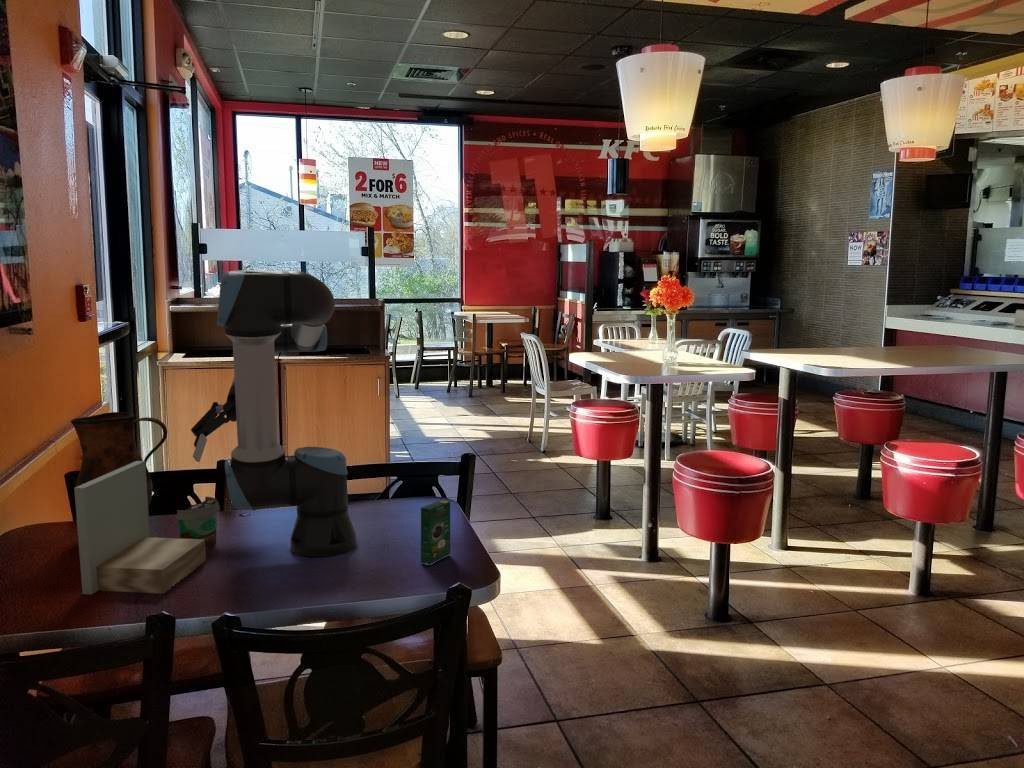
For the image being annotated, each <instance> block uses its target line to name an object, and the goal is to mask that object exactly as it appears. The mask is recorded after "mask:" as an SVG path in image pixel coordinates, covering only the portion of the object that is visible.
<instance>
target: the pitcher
mask: <svg viewBox="0 0 1024 768" xmlns="http://www.w3.org/2000/svg"><path fill="white" fill-rule="evenodd" d="M134 417H135V414H134V413H132V412H127V411H113V412H112V411H109V412H104V413H100V414H95V415H89V416H84V417H79V418H73V419H71V420H70V423H71V424H72V426H73V428H74V430H75V432H76V435H77V438H78V441H79V444H80V447H81V448H80V449H81V453H82V459H81V467H80V470H79V473H78V476H77V478H76V485H75V487H77V486H80V485H82V484H84V483H87V482H89V481H91V480H94V479H96V478H98V477H101V476H103V475H105V474H108V473H110V472H112V471H114V470H117V469H119V468H121V467H124V466H126V465H128V464H131V463H133V462H135V461H145V467H146V482H147V497H148V507H150V504H151V501H152V499H153V485H154V484H153V481H152V478H151V474H150V472H149V469H148V467H147V463H148V462H147V461H148V460H149V459H150V457H151V456H152V455H153V454H154V453H155V452H156V451H157V450H159V448H160V447H161V446H162V445H163V444H164V443H165V441H166V439H167V438H168V429H167V426H166V424H165V423H164V422H162V420H160V419H158V418H154V417H149V416H145V417H139V418H135V419H134ZM137 422H152V423H155V424H157V425H159V426H160V428H161V429H162V432H163V434H162V438H161V440H160V441H159V442H158V444H156V445H155V446H154V447H153V448H152V449H151V450H150V451H149V452H148V453H147V454H146V456H145V458H144V460H143V459H142V456H141V455H140V452H139V450H138V448H137V444H136V438H135V430H134V428H135V423H137Z"/></svg>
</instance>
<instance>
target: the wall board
mask: <svg viewBox="0 0 1024 768" xmlns="http://www.w3.org/2000/svg"><path fill="white" fill-rule="evenodd" d="M73 489H74V501H75V502H74V503H75V512H76V513H75V514H76V515H75V516H76V527H77V528H76V529H77V539H78V553H79V563H80V565H79V568H80V578H81V579H80V580H81V592H82V595H94V594H95V593H96V592H98V583H97V569H96V567H97V566H99V565H100V564H102V563H104V562H105V561H107V560H109V559H110V558H112V557H113V556H115V555H117V554H118V553H120V552H122V551H123V550H125V549H127V548H128V547H130V546H131V545H133V544H135V543H136V542H138V541H140V540H141V539H143V538H144V537H151V533H150V531H151V530H150V515H149V506H148V497H147V482H146V467H145V461H144V460H143V461H135V462H133V463H131V464H128V465H126V466H124V467H121V468H119V469H117V470H114V471H112V472H110V473H108V474H105V475H103V476H101V477H98V478H96V479H94V480H91V481H89V482H87V483H84V484H82V485H80V486H77V487H76V486H75V487H73ZM93 593H94V594H93Z"/></svg>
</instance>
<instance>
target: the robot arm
mask: <svg viewBox="0 0 1024 768" xmlns="http://www.w3.org/2000/svg"><path fill="white" fill-rule="evenodd" d="M335 302H336V301H335V298H334V295H333V293H332V291H331V290H330V288H329V287H328V286H327V284H325V283H324V281H322V280H321V279H319V278H318V277H315V276H314V275H312V274H310V273H307V272H304V271H300V270H269V269H267V270H259V269H258V270H257V269H242V270H241V269H240V270H239V269H238V270H228V271H226V272H224V273H223V274H222V276H221V278H220V287H219V296H218V304H217V305H218V307H217V308H218V309H217V321H216V324H217V326H220V327H221V328H222V327H224V328H223V329H224V334H225V336H226V337H227V338H228V339H229V340H231V342H232V350H233V351H232V353H233V354H232V355H233V375H234V377H233V379H232V382H231V386H230V388H229V391H228V394H227V397H226V402H225V403H224V404H219V403H218V401H213V402H212V404H211V406H210V409H208V411H207V412H206V413H204V415H202V417H201V418H200V419H199V420H198V421H197V422H196V423H195V424H194V425H193V427H191V429H190V432H191V433H192V434H193V435H194V437H195V440H194V443H193V447H194V451H193V454H192V457H193V459H194V460H195V461H196V463H197V462H198V463H200V462H201V459H202V458H203V457H202V456H203V453H204V450H205V447H206V445H207V442H208V438H207V437H208V436H209V435H211V434H212V433H213V432H214V431H216V430H218V429H219V428H220V427H222V426H224V424H228V423H229V422H233V423H234V422H236V434H237V435H236V437H237V446H236V447H235V448H233V449H232V450H231V453H230V458H229V459H226V460H225V461H224V470H225V471H224V472H225V477H226V485H227V490H228V494H229V495H228V496H229V499H230V502H231V504H232V507H233V508H234V509H235V510H238V511H256V510H267V509H279V508H287V507H288V508H290V507H296V519H295V523H294V525H293V529H292V532H291V535H290V540H289V542H290V545H289V546H290V551H291V552H292V553H293V554H296V555H297V556H298V555H299V556H303V557H311V558H312V557H314V558H319V557H320V558H323V557H333V556H337V555H341V554H345V553H347V552H349V551H351V550H353V549H354V548H355V547H356V546H357V535H356V534H357V533H356V530H355V528H354V526H353V523H352V521H351V517H350V515H349V508H348V507H349V503H348V500H349V499H348V498H349V497H348V477H347V476H348V474H349V471H348V468H347V467H348V465H347V458H346V455H345V454H344V453H343V452H341V451H339V450H337V449H334V448H333V449H332V448H329V447H323V446H322V447H321V446H304V447H303V446H302V447H298V448H295V450H294V453H293V455H286V449H285V448H284V446H282V445H281V444H279V440H278V417H277V416H278V415H277V412H278V411H277V388H276V387H277V386H276V382H277V381H276V360H275V353H297V352H298V353H301V352H304V353H306V352H311V353H315V352H323V351H325V350H326V349H327V347H328V329H327V326H326V324H327V323H328V322H329V321H330V320H331V318H332V317H333V314H334V312H335V306H336V305H335V304H336V303H335ZM225 416H226V417H225Z"/></svg>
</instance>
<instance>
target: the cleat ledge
mask: <svg viewBox="0 0 1024 768" xmlns="http://www.w3.org/2000/svg"><path fill="white" fill-rule="evenodd" d="M206 553H207V551H206V548H205V539H181V537H179V538H178V537H177V538H176V537H173V538H172V537H151V536H150V537H144V538H143V539H141V540H140V541H138V542H136V543H135V544H133V545H131V546H130V547H128V548H127V549H125V550H123V551H122V552H120V553H118V554H117V555H115V556H113V557H112V558H110V559H109V560H107V561H105V562H104V563H102V564H100V565H99V566H97V567H96V569H97V583H98V590H102V591H104V592H121V593H147V594H165V593H167V592H168V591H169V590H170V589H172V588H173V587H174V586H175V584H176V583H177V582H178V583H180V582H181V581H182V580H183V579H185V578H186V577H187V576H189V575H190V574H191V573H192V572H194V571H195V570H196V569H197V567H198V566H199V567H200V566H201V565H203V564H204V563H205V562H206V561H207V556H206V555H207V554H206ZM199 567H198V568H199ZM193 570H194V571H193ZM189 573H190V574H189ZM184 577H185V578H184ZM181 579H182V580H181ZM180 580H181V581H180ZM178 583H177V584H178ZM177 584H176V585H177ZM172 586H173V587H172ZM171 587H172V588H171ZM167 590H168V591H167Z"/></svg>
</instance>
